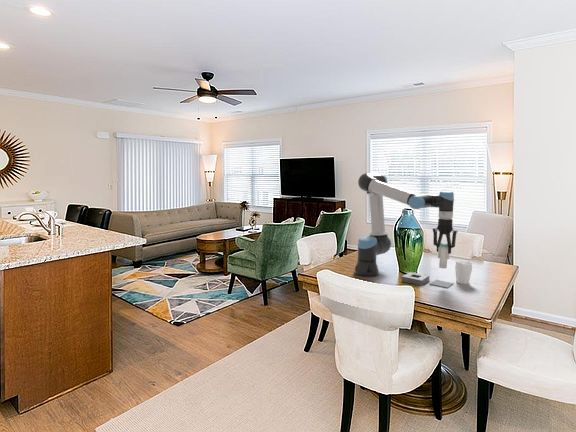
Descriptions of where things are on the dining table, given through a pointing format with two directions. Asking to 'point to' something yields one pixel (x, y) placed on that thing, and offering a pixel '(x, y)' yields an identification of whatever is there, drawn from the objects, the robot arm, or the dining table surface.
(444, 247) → the plug
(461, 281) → the cup
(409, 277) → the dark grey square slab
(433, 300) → the dining table surface
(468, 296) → the dining table surface
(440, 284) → the coaster
